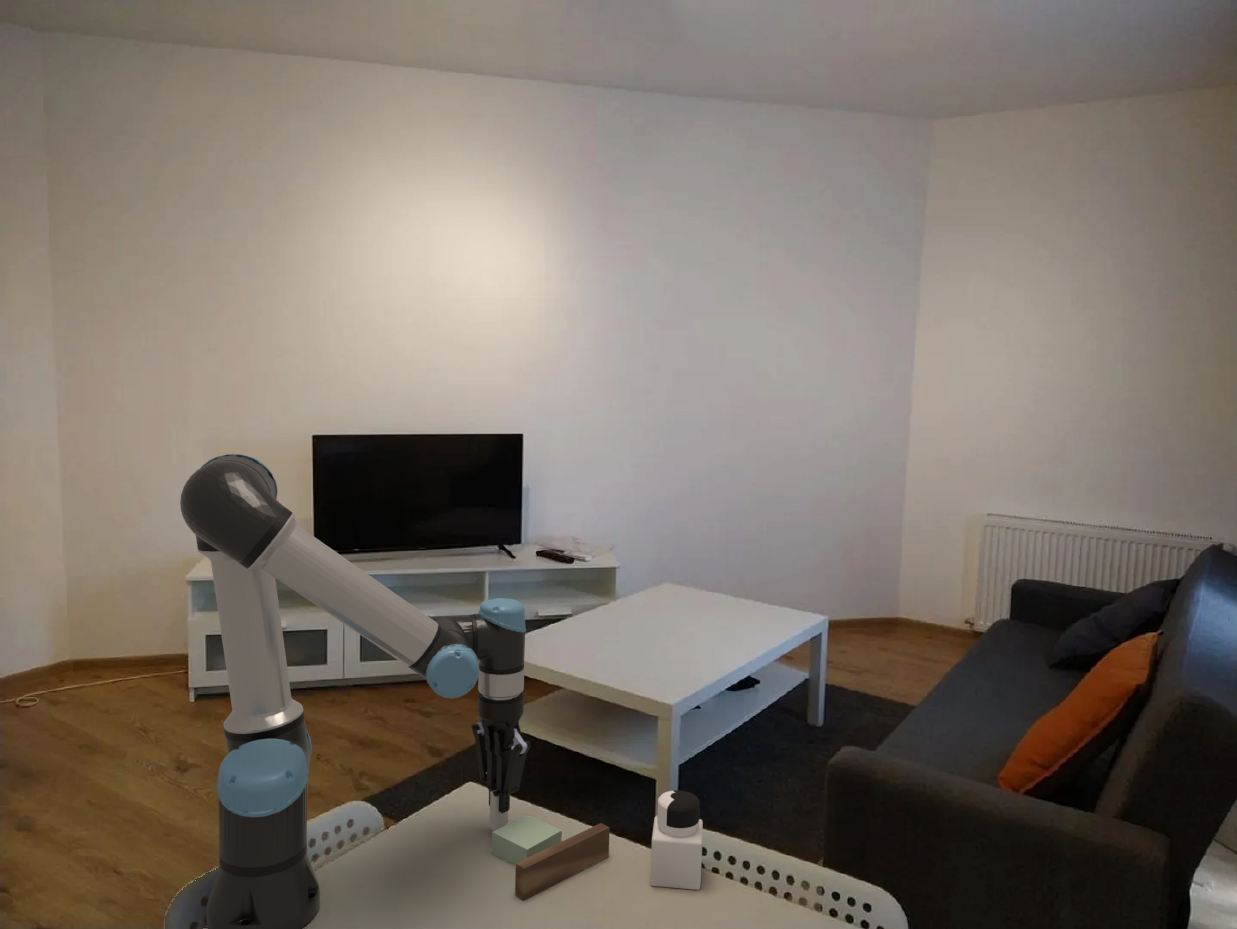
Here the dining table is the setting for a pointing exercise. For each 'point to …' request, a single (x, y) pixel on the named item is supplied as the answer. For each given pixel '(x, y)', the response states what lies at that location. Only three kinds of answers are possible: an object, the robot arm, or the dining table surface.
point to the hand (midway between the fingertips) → (498, 827)
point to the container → (677, 842)
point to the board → (561, 861)
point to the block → (523, 839)
